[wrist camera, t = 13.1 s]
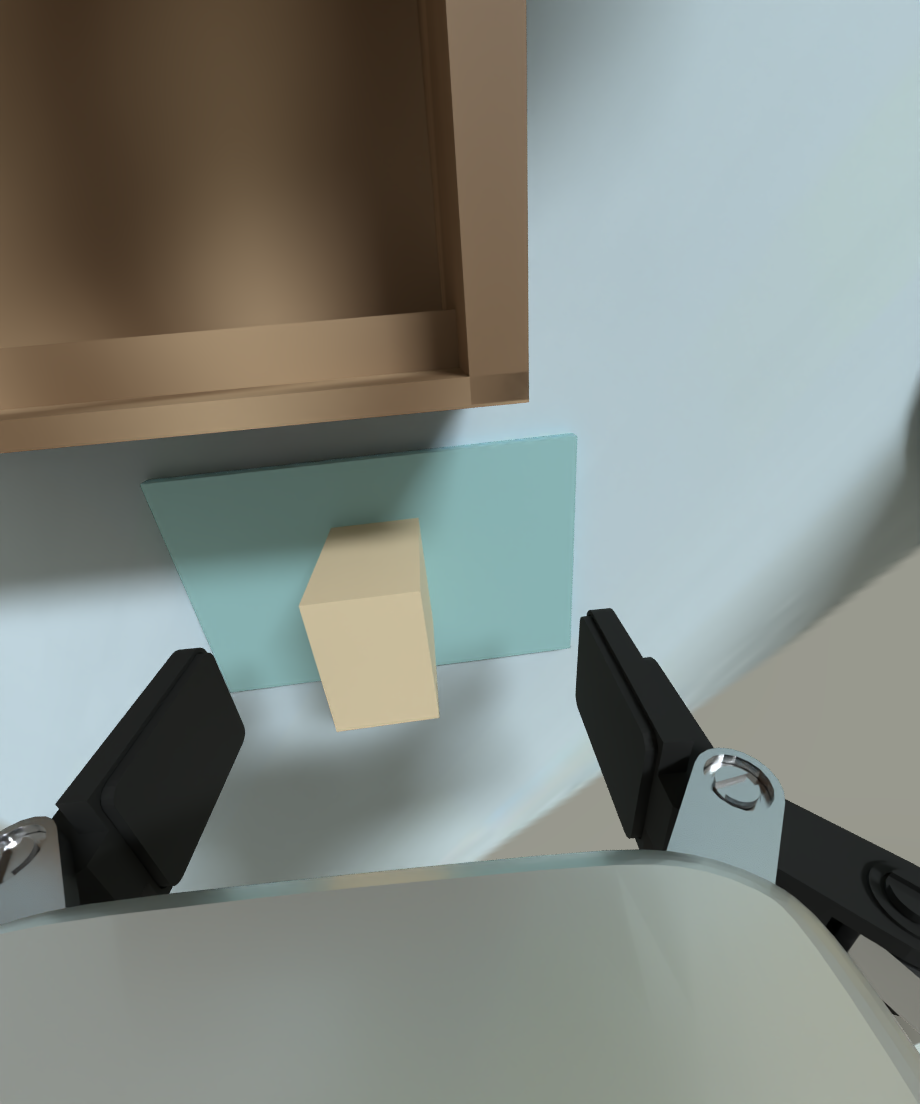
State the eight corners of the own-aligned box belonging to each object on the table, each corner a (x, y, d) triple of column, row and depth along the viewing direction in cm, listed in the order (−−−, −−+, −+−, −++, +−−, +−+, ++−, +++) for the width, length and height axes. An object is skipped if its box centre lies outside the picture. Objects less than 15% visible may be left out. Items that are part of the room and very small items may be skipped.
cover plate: (567, 429, 15) (645, 481, 10) (562, 633, 19) (616, 743, 14) (156, 475, 15) (18, 553, 10) (238, 675, 19) (172, 806, 14)
